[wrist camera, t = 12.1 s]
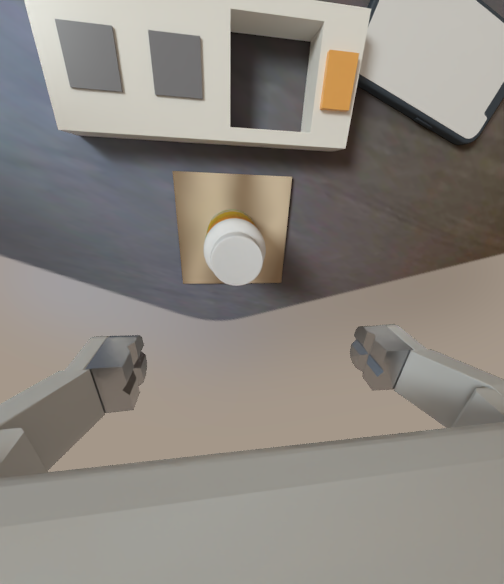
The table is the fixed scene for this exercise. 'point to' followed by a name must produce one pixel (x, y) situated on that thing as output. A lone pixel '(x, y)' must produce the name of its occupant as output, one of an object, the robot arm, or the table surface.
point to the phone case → (436, 63)
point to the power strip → (191, 67)
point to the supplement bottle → (234, 247)
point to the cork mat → (222, 196)
